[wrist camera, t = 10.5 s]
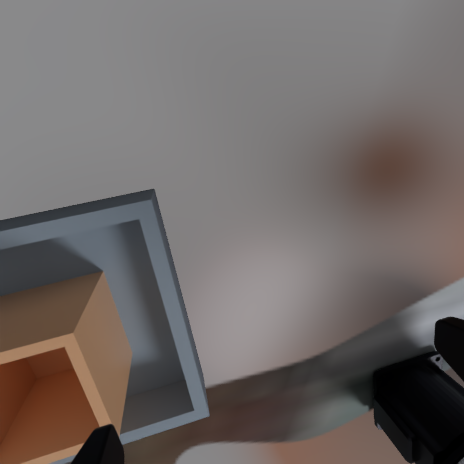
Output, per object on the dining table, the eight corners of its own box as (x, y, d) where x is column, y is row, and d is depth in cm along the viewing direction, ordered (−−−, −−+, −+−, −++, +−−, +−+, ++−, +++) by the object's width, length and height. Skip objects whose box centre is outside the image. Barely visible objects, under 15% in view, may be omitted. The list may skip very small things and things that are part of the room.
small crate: (103, 270, 17) (73, 332, 12) (132, 353, 19) (118, 440, 14) (-8, 298, 16) (-99, 379, 11) (34, 381, 18) (-24, 487, 13)
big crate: (154, 188, 17) (151, 199, 14) (203, 374, 22) (209, 415, 19) (-118, 244, 15) (-195, 272, 12) (-3, 437, 20) (-36, 496, 17)
